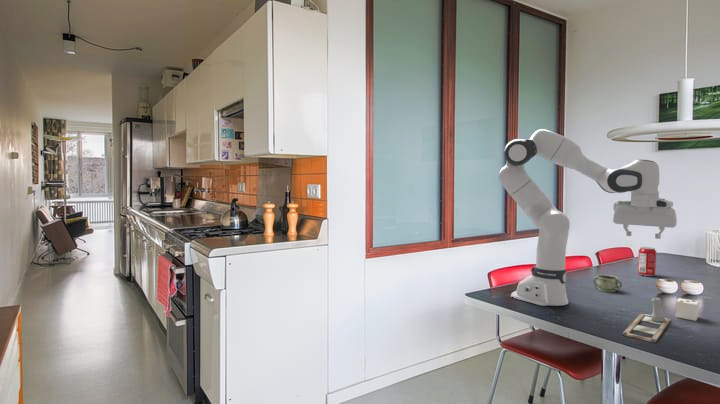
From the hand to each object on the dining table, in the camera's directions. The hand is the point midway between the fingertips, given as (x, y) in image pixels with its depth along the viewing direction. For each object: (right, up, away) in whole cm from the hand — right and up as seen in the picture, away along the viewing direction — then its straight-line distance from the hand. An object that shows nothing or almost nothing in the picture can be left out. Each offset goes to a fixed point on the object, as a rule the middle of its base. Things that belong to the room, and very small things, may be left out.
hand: (643, 237), depth 159 cm
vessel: (+6, -28, +33) cm, 43 cm away
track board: (-10, -30, -17) cm, 36 cm away
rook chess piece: (-2, -29, -11) cm, 31 cm away
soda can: (+45, -26, +62) cm, 80 cm away
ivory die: (+13, -30, -5) cm, 33 cm away
